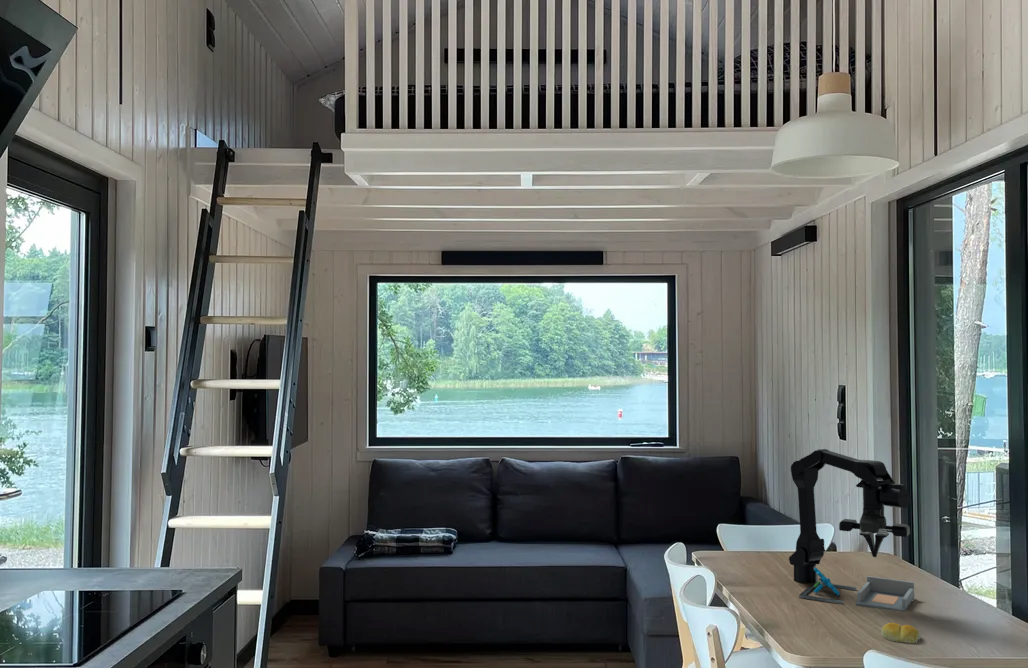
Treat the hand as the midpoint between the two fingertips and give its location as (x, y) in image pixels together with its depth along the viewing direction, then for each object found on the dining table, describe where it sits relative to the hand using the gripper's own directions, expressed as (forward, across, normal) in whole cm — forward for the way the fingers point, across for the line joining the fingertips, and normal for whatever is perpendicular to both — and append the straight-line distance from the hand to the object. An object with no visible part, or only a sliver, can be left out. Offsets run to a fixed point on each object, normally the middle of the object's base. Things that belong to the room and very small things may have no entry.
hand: (874, 556), depth 248 cm
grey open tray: (+13, +3, 0) cm, 13 cm away
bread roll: (+14, +10, -37) cm, 40 cm away
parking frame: (+13, -12, 0) cm, 18 cm away
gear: (+14, -12, 0) cm, 18 cm away
